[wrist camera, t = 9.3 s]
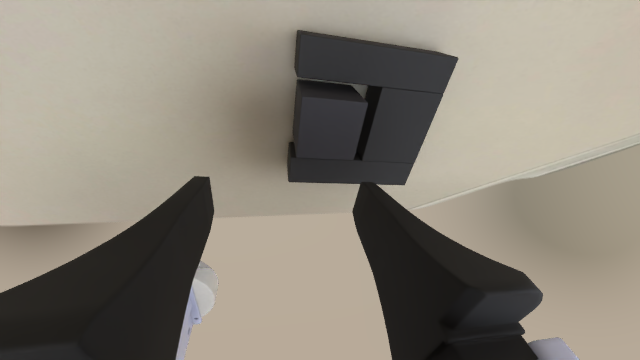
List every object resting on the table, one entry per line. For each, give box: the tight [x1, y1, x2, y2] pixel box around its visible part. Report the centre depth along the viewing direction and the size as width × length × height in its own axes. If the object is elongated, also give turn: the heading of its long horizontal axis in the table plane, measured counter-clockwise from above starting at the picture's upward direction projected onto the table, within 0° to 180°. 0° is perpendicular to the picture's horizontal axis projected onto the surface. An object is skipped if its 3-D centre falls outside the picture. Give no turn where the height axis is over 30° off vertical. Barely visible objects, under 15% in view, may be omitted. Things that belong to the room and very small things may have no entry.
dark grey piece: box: [287, 30, 458, 185], centre depth 18 cm, size 10×10×2 cm
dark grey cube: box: [293, 79, 368, 160], centre depth 17 cm, size 4×4×4 cm
